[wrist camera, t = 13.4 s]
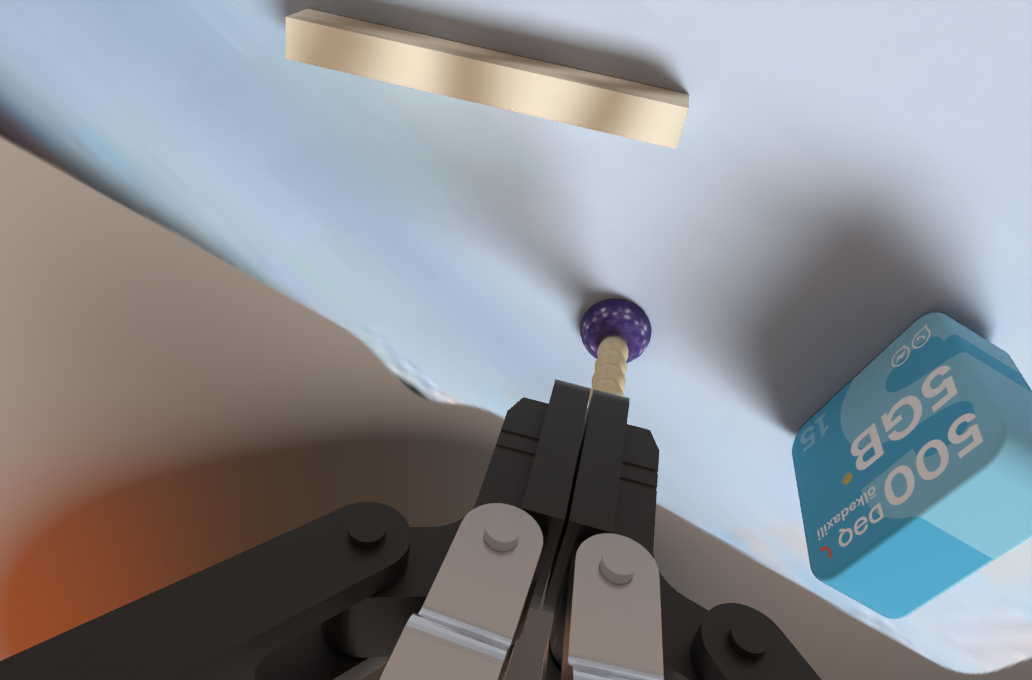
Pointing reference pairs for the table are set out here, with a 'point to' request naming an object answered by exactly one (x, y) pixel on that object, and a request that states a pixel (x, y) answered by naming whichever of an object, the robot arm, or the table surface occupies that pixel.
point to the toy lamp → (614, 341)
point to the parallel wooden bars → (487, 77)
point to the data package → (917, 469)
